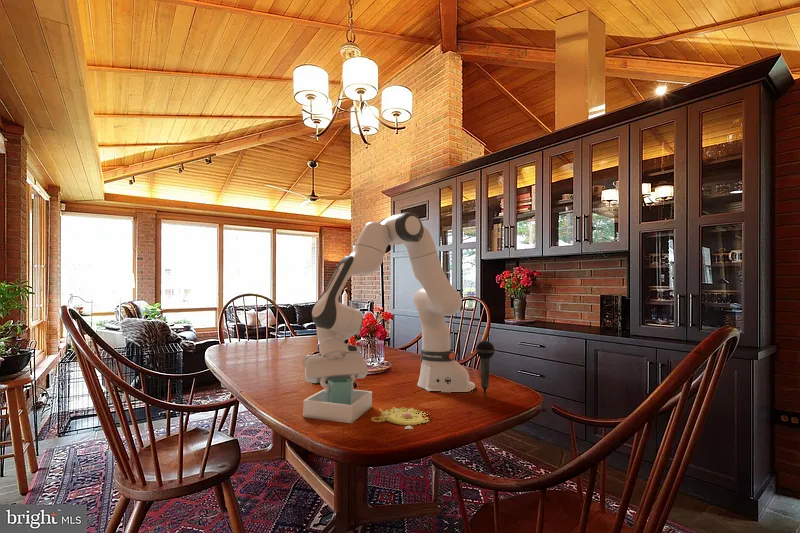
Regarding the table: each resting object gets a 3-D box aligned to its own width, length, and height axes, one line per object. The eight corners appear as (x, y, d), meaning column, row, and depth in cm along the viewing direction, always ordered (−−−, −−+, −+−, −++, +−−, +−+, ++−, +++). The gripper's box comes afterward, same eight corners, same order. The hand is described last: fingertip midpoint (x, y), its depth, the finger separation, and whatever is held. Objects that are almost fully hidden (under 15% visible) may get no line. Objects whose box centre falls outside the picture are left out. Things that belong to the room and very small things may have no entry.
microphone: (494, 400, 142) (495, 342, 143) (475, 398, 143) (475, 341, 144) (494, 394, 149) (494, 339, 149) (475, 393, 150) (475, 339, 151)
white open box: (371, 406, 132) (372, 391, 133) (351, 423, 117) (352, 406, 117) (327, 401, 137) (328, 386, 137) (303, 416, 122) (303, 400, 122)
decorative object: (447, 419, 119) (387, 426, 109) (447, 427, 119) (386, 435, 109) (411, 399, 137) (357, 404, 127) (411, 407, 137) (356, 412, 127)
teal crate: (345, 400, 131) (346, 377, 131) (350, 406, 126) (351, 381, 126) (327, 402, 129) (327, 378, 129) (331, 408, 123) (332, 383, 124)
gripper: (303, 350, 130) (307, 388, 121) (364, 346, 138) (372, 382, 129) (300, 361, 134) (305, 399, 125) (360, 357, 142) (368, 393, 133)
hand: (339, 390), depth 127 cm, fingers closed on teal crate, 6 cm apart
